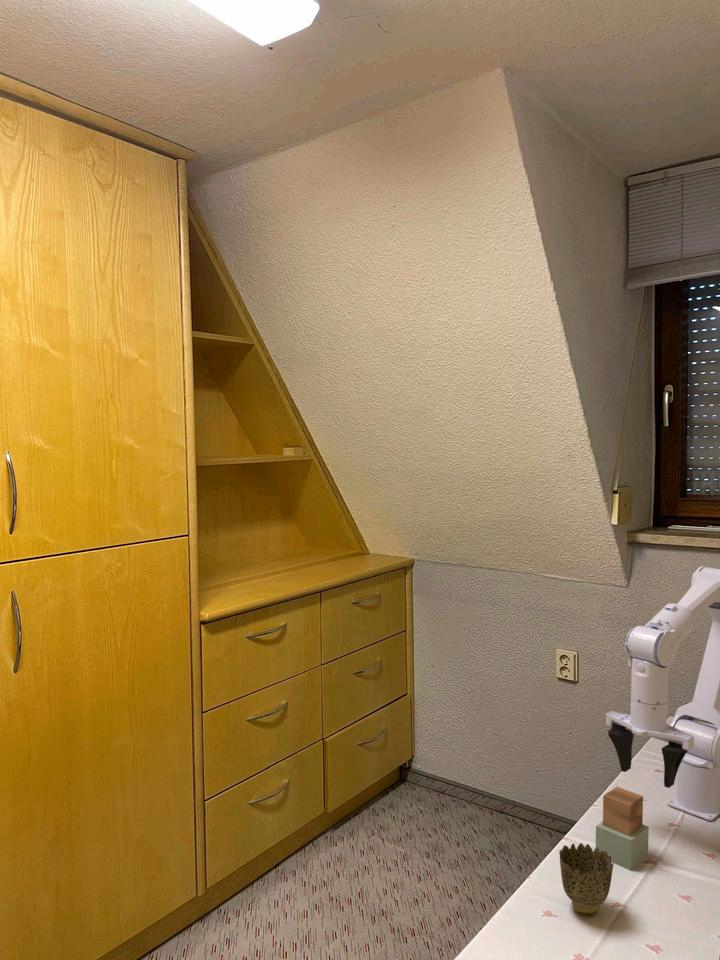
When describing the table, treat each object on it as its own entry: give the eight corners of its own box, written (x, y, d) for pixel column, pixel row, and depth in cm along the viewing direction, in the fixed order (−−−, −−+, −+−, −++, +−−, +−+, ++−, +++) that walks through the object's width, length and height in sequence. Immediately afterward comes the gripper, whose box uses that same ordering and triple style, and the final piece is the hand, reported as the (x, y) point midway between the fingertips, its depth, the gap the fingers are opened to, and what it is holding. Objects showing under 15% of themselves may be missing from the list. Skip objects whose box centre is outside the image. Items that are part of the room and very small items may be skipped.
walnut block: (616, 815, 124) (617, 786, 123) (642, 826, 120) (643, 796, 120) (602, 825, 121) (603, 795, 120) (628, 836, 117) (629, 805, 117)
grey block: (613, 841, 125) (614, 812, 125) (648, 856, 120) (648, 826, 120) (595, 855, 121) (595, 825, 120) (630, 871, 116) (631, 840, 116)
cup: (615, 930, 102) (616, 874, 102) (560, 923, 104) (561, 868, 103) (608, 897, 110) (609, 845, 109) (557, 891, 111) (558, 839, 111)
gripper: (597, 693, 127) (595, 770, 128) (681, 717, 116) (678, 800, 117) (618, 683, 132) (616, 758, 133) (700, 705, 121) (698, 786, 122)
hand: (647, 777), depth 125 cm, fingers open, 7 cm apart
